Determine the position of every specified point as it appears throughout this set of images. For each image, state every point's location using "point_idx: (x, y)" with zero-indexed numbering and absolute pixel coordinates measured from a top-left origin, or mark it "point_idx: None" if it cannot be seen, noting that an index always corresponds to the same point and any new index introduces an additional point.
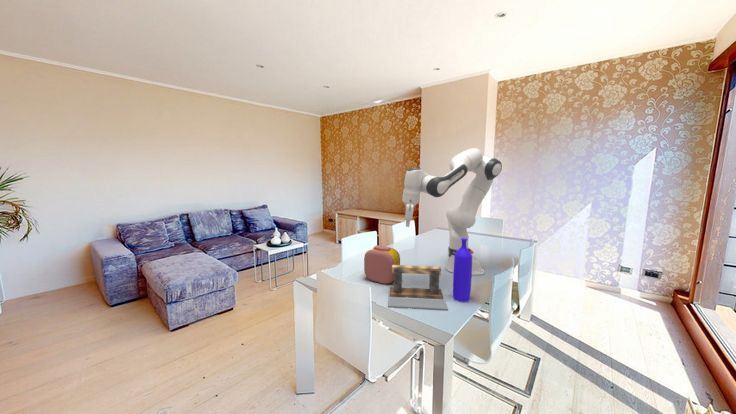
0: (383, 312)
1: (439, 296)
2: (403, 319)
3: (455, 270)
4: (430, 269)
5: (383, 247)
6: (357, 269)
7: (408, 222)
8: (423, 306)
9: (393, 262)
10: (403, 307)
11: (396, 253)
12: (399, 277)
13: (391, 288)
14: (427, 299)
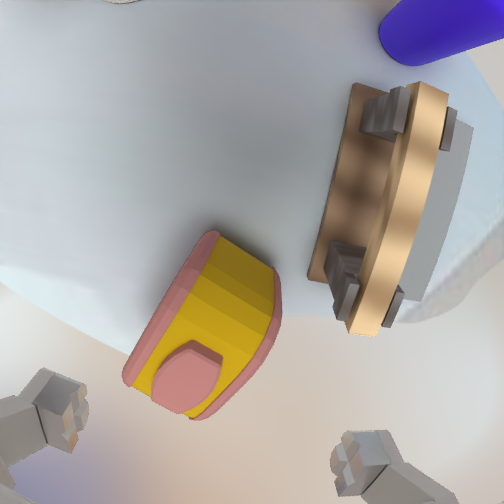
0: (436, 312)
1: None
2: (476, 268)
3: (475, 45)
4: (436, 148)
5: (190, 382)
6: (124, 351)
7: (415, 488)
8: (451, 197)
9: (279, 309)
10: (436, 257)
11: (204, 295)
12: None
13: (323, 277)
14: None
